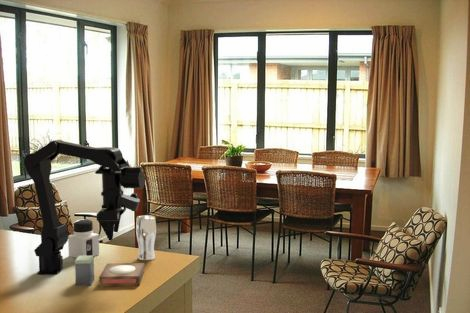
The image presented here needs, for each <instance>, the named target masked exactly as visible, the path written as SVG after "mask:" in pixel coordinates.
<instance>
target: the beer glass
mask: <svg viewBox="0 0 470 313" xmlns="http://www.w3.org/2000/svg"><path fill="white" fill-rule="evenodd" d="M156 222H157V221H156V216H155V215H151V214H145V215H144V214H143V215H137V216H136V224H135V225H136V226H135V232H136V240H137V243H138V244H137V246H138V254H137V255H138V256H137V259H138V260H139V261H142V262H148V261H149V262H150V261H153V260H155V259H156V254H155V242H156V235H157V223H156Z"/></svg>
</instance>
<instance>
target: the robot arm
mask: <svg viewBox="0 0 470 313" xmlns="http://www.w3.org/2000/svg"><path fill="white" fill-rule="evenodd" d="M59 155H64V156H69V157H74V158H79V159H83V160H88V161H91V162H93V163H94V164H95V165H98V166H99V168H98V169H97V170H96V171H95V172H94V173H95V174H96V175H101V181H102V182H101V183H102V184H101V186H102V191H101V192H100V196H101V197H102V204H101V209H100V210H99V211H98V212H97V213H96V221H97V222H98V223H99V225H100V227H101V228H102V229H103V230H102V231H104V233H105V236H106V237H107V239H108V241H113V239H114V233H118V232H119V229H120V223H121V218H122V215H123V214H124V213H125V212H126V210H127V209H128V210H130V211H132V212H136V211H137V210H138V207H139V204H140V201H141V200H140V198H138V193H135V192H132V193H131V194H130V195H129V194H124V190H123V189H122V187H123V188H124V189H139V190H141V189H144V187H145V185H146V175H145V172H144V170H143V167H142V166H130V164H129V163H128V162H127V161H126V160H125V157H123V152H122V151H121V150H120V148H117V147H114V146H113V147H111V146H107V147H105V146H104V147H103V146H102V147H93V146H89V145H84V144H83V145H82V144H79V143H73V142H69V141H63V140H61V139H55V140H51V141H50V142H48V143H47V144H45V145H44V146H42V147H41V148H39V149H38V150H36V151H34V152H32V153H27V155H26V156H25V157H24V159H23V166H24V168H25V171H26V173H27V175H28V176H29V178H30V179H31V180H32V181H33V184H34V189H35V193H36V198H37V202H38V206H39V207H38V208H39V212H40V215H41V216H40V217H41V221H42V228H41V233H40V239H41V240H40V241H41V242H40V244H38V246H37V247H36V248H35V249H34V254H35V256H36V257H38V271H37V275H54V274H55V275H58V274H59V272H60V271H62V269H63V268H64V264H63V263H64V258H63V255H62V253H61V252H62V251H61V250H63V249H64V245H66V244H67V243H68V236H69V235H70V234H69V231H68V225H67V224H66V223H64V224H62V223H61V221H60V220H59V218H58V211H57V207H56V203H55V197H54V193H53V189H52V188H53V187H52V184H51V178H50V177H51V173H52V161H54V160H55V159H56V158H57V157H58V156H59Z"/></svg>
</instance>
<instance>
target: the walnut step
mask: <svg viewBox="0 0 470 313" xmlns="http://www.w3.org/2000/svg"><path fill="white" fill-rule="evenodd" d="M144 274H145V263H144V262H136V263H135V262H131V263H130V262H128V263H127V262H124V263H123V262H121V263H120V262H119V263H118V262H117V263H110V262H109V263H106V265H105V266H104V268H103V270H102V272H101V273H100V275H99V276H98V281H99V282H98V283H99V284H98V286H99V287H125V286H127V287H128V286H129V287H132V286H135V287H136V286H140V284H141V283H142V280H143V276H144Z"/></svg>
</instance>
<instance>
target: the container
mask: <svg viewBox="0 0 470 313" xmlns="http://www.w3.org/2000/svg"><path fill="white" fill-rule="evenodd" d="M93 226H94V224H93V221H92V220H91V219H86V218H85V219H84V218H83V219H77V220H75V221H74V222H73V234H69V236H68V241H67V243H68V245H67V246H68V257H70V258H74V259H77V257H78V256H94V257H96V256H99V255H100V240H99V239H100V234H98V233H94V229H93V228H94V227H93Z"/></svg>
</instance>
